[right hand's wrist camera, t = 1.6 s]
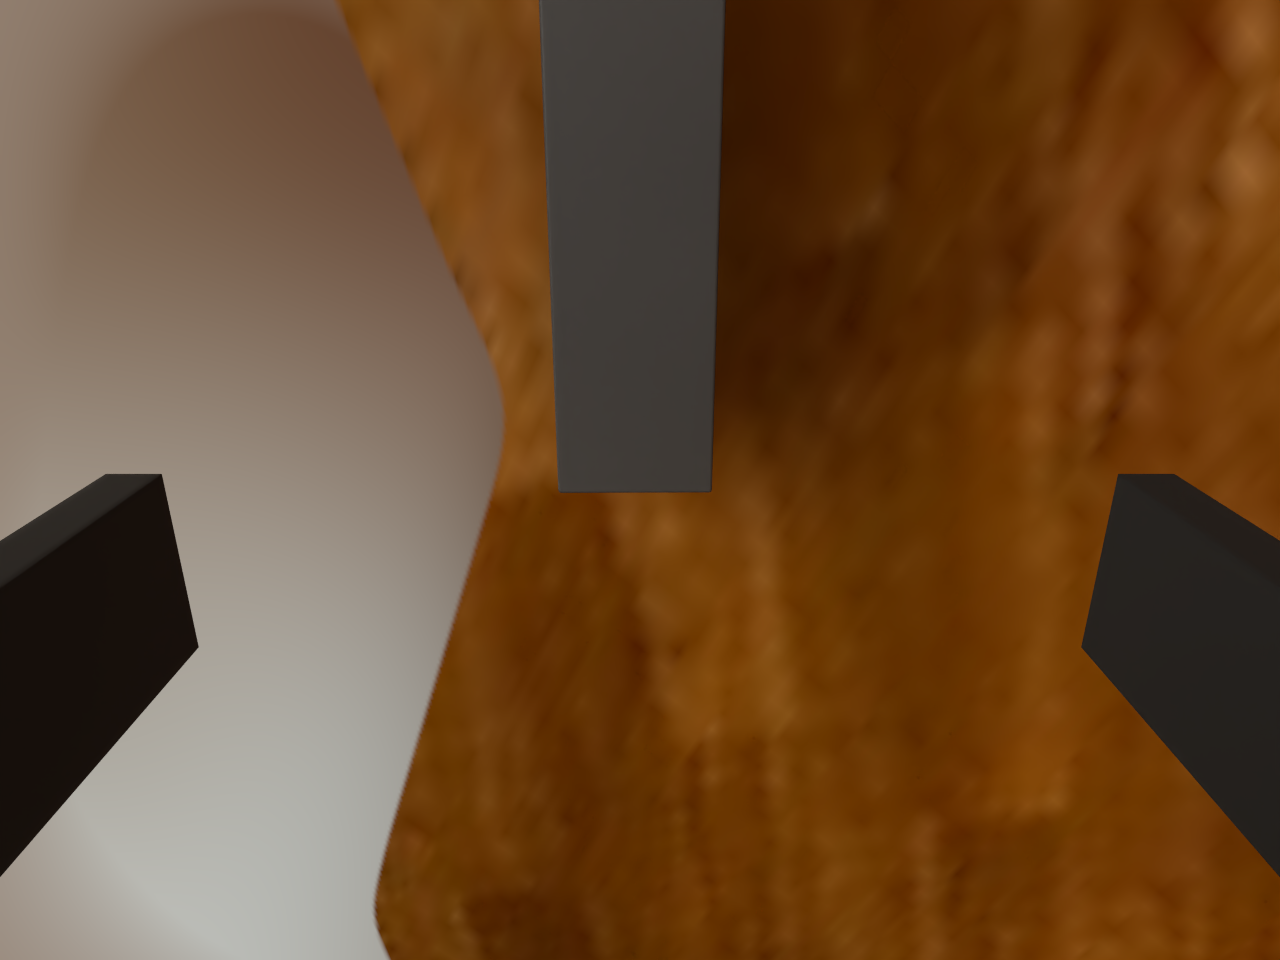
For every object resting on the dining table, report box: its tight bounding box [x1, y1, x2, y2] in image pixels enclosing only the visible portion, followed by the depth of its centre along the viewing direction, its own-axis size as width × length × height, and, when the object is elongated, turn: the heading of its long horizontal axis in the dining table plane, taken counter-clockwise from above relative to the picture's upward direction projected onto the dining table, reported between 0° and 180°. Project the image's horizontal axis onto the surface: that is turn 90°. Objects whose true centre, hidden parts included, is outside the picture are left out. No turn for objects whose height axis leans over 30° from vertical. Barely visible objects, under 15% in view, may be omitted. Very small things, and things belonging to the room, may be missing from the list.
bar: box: [539, 0, 726, 493], centre depth 27 cm, size 23×5×9 cm, turn 0°
